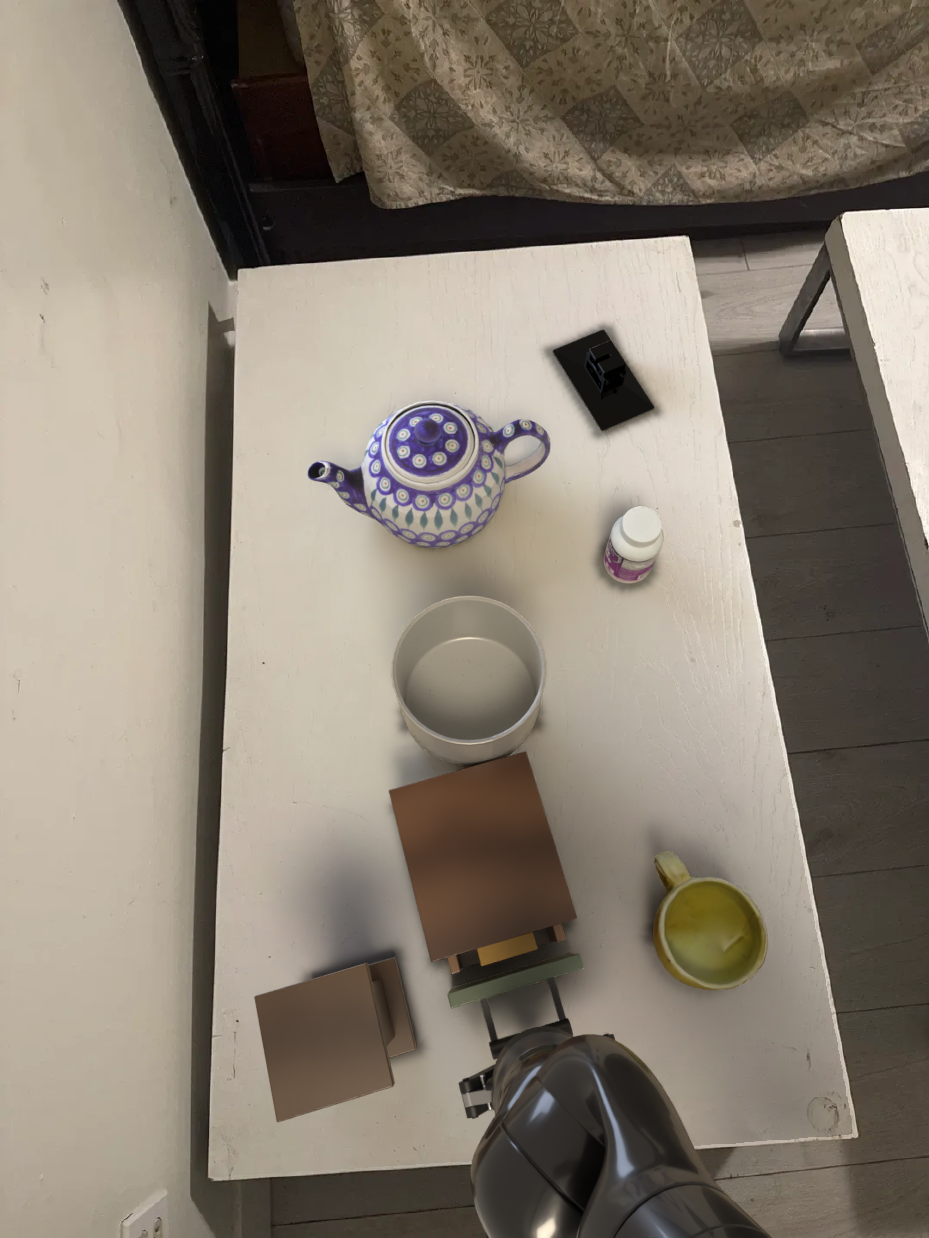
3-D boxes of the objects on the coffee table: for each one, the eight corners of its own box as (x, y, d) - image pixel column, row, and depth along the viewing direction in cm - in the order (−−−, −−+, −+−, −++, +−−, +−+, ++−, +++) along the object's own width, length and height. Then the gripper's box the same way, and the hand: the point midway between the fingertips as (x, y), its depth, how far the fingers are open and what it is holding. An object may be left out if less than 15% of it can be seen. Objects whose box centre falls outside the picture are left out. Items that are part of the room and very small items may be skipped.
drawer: (590, 1021, 78) (603, 1031, 70) (468, 1059, 78) (467, 1073, 69) (530, 821, 85) (535, 808, 76) (417, 854, 84) (409, 844, 76)
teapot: (533, 426, 101) (541, 343, 87) (559, 545, 96) (573, 477, 82) (318, 459, 100) (291, 381, 86) (332, 581, 95) (306, 518, 81)
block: (518, 893, 81) (520, 890, 76) (534, 948, 80) (537, 949, 74) (466, 908, 81) (465, 906, 75) (481, 964, 79) (481, 966, 74)
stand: (417, 1047, 79) (393, 1086, 58) (331, 1074, 78) (276, 1122, 58) (395, 956, 82) (366, 962, 61) (312, 981, 81) (253, 996, 60)
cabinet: (566, 920, 82) (577, 918, 72) (437, 959, 81) (431, 962, 71) (521, 772, 87) (526, 750, 77) (399, 806, 86) (388, 789, 76)
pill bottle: (599, 541, 96) (612, 500, 87) (648, 538, 96) (665, 497, 87) (605, 587, 94) (618, 549, 85) (654, 584, 94) (673, 546, 85)
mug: (790, 979, 78) (783, 970, 70) (682, 1011, 81) (662, 1006, 72) (737, 848, 85) (724, 825, 76) (637, 881, 87) (615, 863, 79)
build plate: (551, 352, 105) (554, 326, 100) (605, 330, 106) (610, 304, 101) (601, 432, 100) (606, 409, 96) (656, 408, 101) (664, 384, 97)
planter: (408, 658, 92) (392, 596, 75) (532, 656, 91) (543, 594, 75) (407, 782, 87) (389, 745, 70) (537, 780, 87) (550, 743, 70)
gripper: (468, 1189, 56) (471, 1132, 72) (664, 1126, 57) (623, 1084, 73) (437, 1063, 58) (447, 1036, 75) (625, 1004, 59) (594, 990, 76)
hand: (534, 1059), depth 74 cm, fingers closed
